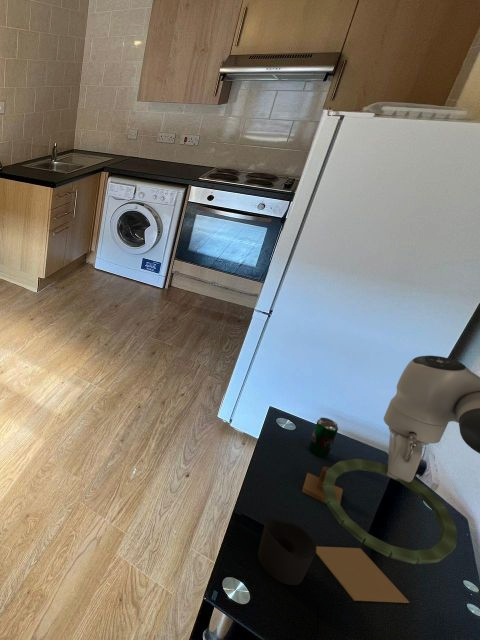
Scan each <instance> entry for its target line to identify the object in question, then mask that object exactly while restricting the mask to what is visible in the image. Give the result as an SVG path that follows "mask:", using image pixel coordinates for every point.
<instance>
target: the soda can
mask: <svg viewBox="0 0 480 640" xmlns="http://www.w3.org/2000/svg"><path fill="white" fill-rule="evenodd" d="M338 426H339V425H338V423H337V422H335V421H334V420H333V419H331V418H328V417H320V418H319V419H317V421H316V424H315V427H314V430H313V432H312V436H311V438H310V442H309V444H308V450H309V452H310V453H312V454H313V455H314V454H315V455H314V456H316V457H319V458H328V457H329V456H330V453H331V450H332V448H333V445H334V443H335V439H336V437H337V434H338V431H339V427H338Z"/></svg>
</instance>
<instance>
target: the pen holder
mask: <svg viewBox="0 0 480 640" xmlns="http://www.w3.org/2000/svg"><path fill="white" fill-rule="evenodd" d="M264 523H265V524H264V526H263V530H262V534H261V537H260V538H261V539H260V542H259V546H258V550H257V557H258V558H257V559H258V562H259V564H260V565H261V567H262V568H263V569H264V571H265V572H266V574H268V575H269V576H271V578H273V579H274V580H276V581H278V582H280V583H282V584H285V585H288V586H298V585H301V583H302V582H303V581H304V578H305V576H306V574H307V573H308V570H309V568H310V566H311V564H312V562H313V559H314V557H315V555H316V546H317V544H316V542H315V541H314V539H313V538H312V537H311V535H310V534H309V533H308V532H307V531H306V530H305V529H304V528H302V527H301V526H300V525H298V524H295V523H293V522H287V521H282V520H279V519H276V518H273V517H269V518H267V519H266V521H265V522H264Z"/></svg>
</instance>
